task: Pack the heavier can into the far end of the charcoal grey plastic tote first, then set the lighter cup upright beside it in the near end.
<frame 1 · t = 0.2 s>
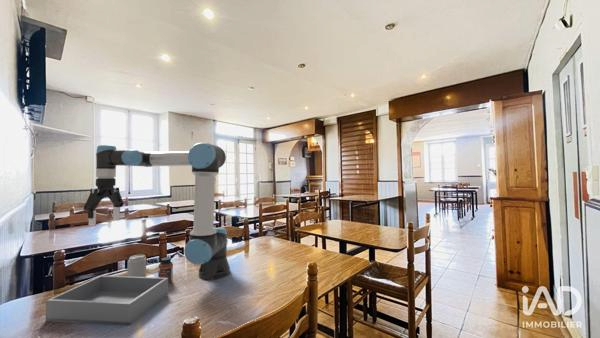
hand: (104, 222, 121), 27 cm above the table, tool pointing down, fingers open, 13 cm apart
supplement bottle: (165, 283, 118), on the table
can: (136, 282, 119), on the table
tote: (112, 306, 97), on the table
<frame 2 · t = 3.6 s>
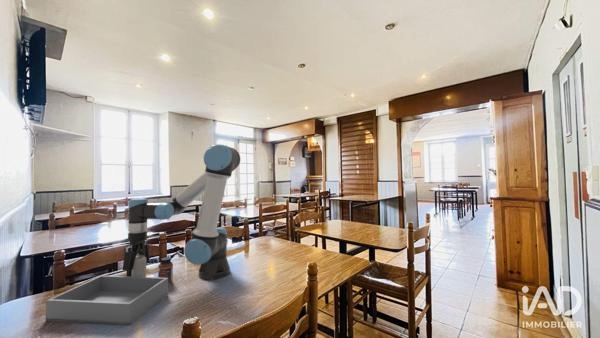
hand: (136, 280, 119), 1 cm above the table, tool pointing down, fingers closed on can, 7 cm apart
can: (136, 282, 119), on the table, touching gripper
everything else where it was.
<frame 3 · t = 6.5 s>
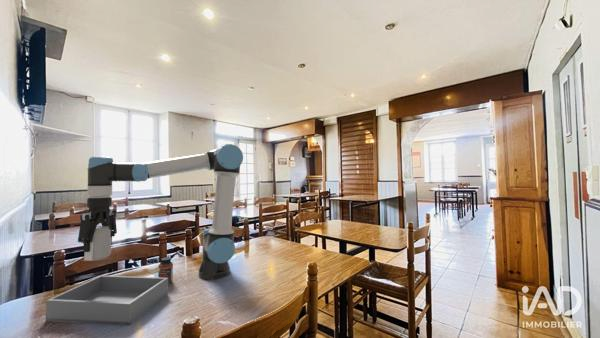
hand: (98, 256, 98), 19 cm above the table, tool pointing down, fingers closed on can, 7 cm apart
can: (97, 258, 98), point 18 cm above the table, touching gripper
everything else where it was.
when the fingers open (4 cm above the table, at t = 9.6 s): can drops 2 cm, resting on tote.
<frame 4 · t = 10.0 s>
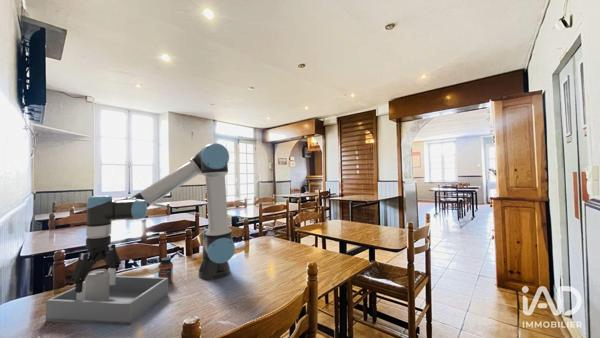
hand: (97, 292, 97), 5 cm above the table, tool pointing down, fingers open, 13 cm apart
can: (96, 303, 97), point 1 cm above the table, touching tote
everything else where it was.
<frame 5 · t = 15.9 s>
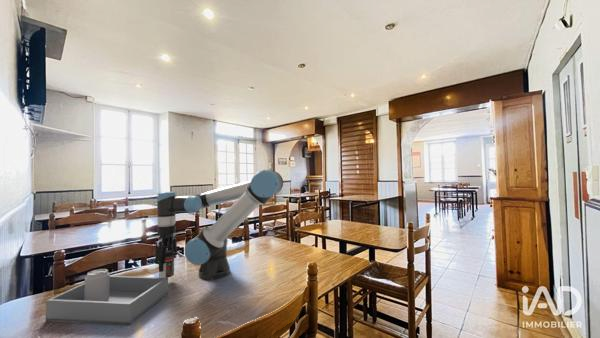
hand: (166, 275, 118), 4 cm above the table, tool pointing down, fingers closed on supplement bottle, 6 cm apart
supplement bottle: (167, 276, 118), point 3 cm above the table, touching gripper
everything else where it was.
when the fingers open (3 cm above the table, at t = 21.3 s): supplement bottle drops 1 cm, resting on tote.
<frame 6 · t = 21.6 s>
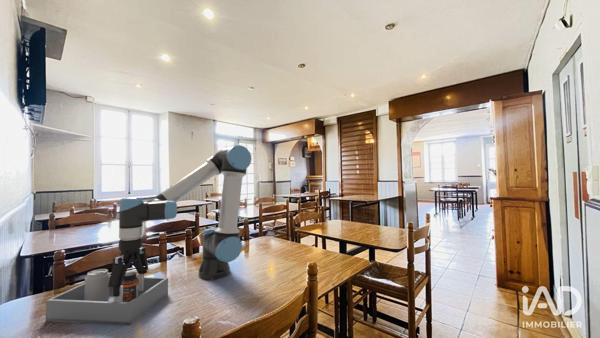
hand: (129, 297, 96), 4 cm above the table, tool pointing down, fingers open, 10 cm apart
supplement bottle: (129, 304, 96), point 1 cm above the table, touching tote
everything else where it was.
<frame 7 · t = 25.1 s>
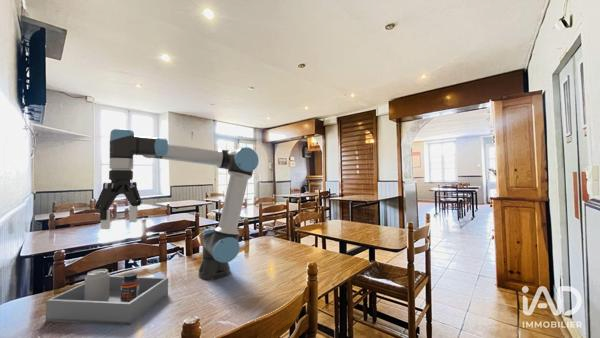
hand: (119, 225, 98), 31 cm above the table, tool pointing down, fingers open, 13 cm apart
nothing on the table moved.
at the end: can inside the target area on the tote (6.6 cm from its centre), point 0.8 cm above the tote's base; supplement bottle inside the target area on the tote (6.6 cm from its centre), point 0.8 cm above the tote's base; supplement bottle tilted 1° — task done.
